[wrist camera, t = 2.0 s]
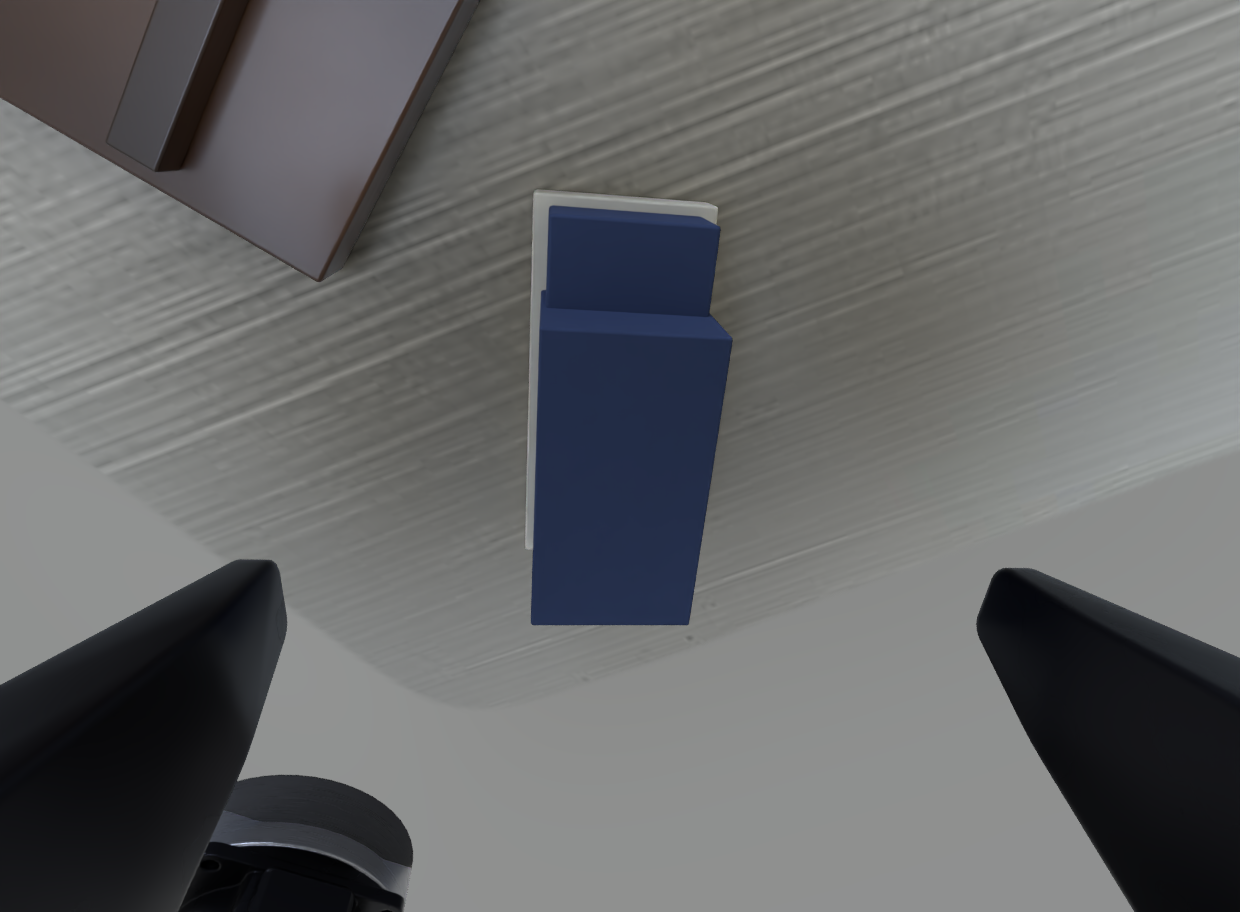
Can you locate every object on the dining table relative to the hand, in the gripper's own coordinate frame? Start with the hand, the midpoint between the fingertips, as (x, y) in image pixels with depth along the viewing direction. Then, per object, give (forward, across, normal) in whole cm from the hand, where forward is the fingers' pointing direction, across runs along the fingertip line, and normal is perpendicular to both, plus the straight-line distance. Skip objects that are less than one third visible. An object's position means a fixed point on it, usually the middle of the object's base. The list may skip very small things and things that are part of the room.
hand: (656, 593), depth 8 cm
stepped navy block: (+8, 0, 0) cm, 8 cm away
